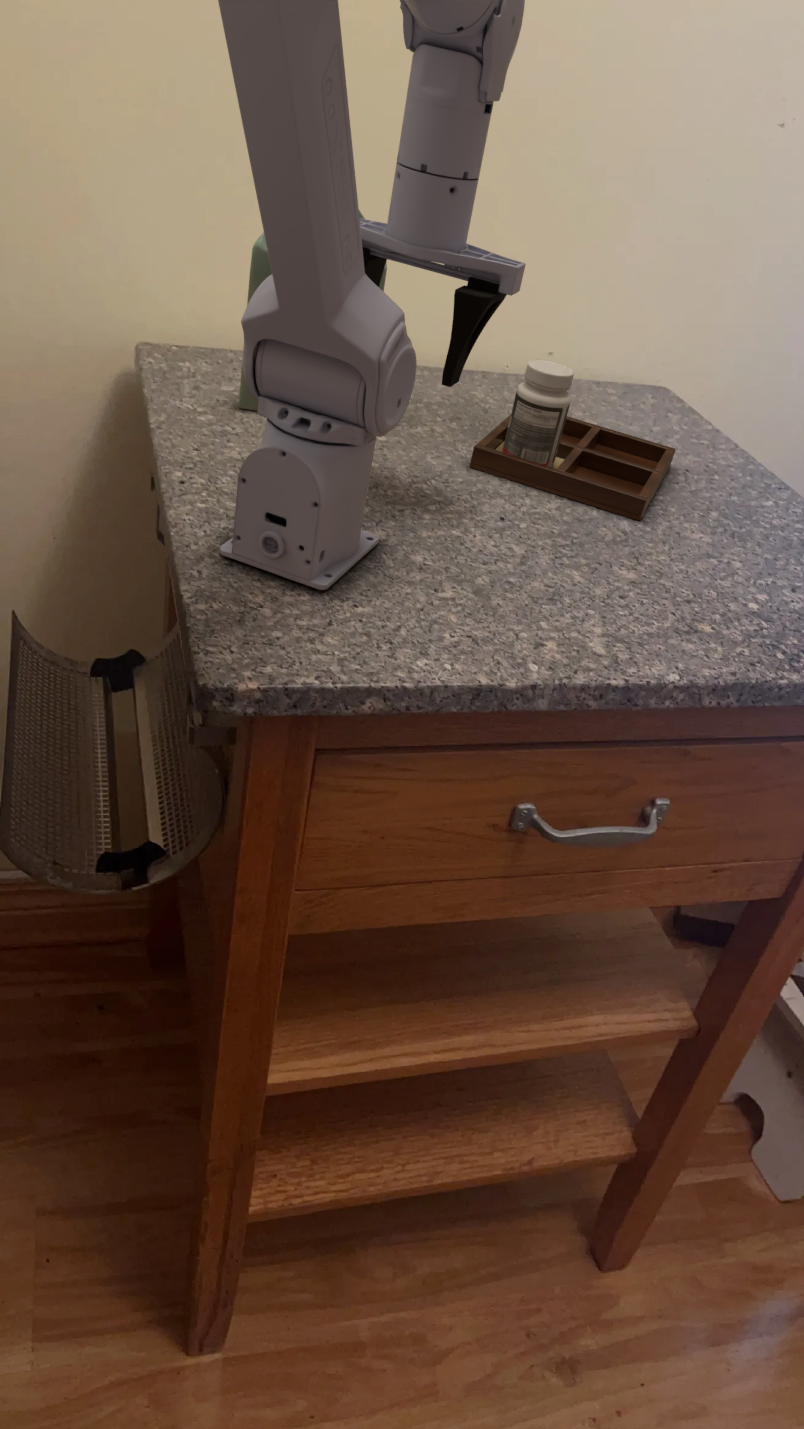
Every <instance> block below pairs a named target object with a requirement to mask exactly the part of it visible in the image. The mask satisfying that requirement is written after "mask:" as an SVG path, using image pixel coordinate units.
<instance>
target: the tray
mask: <svg viewBox="0 0 804 1429" xmlns="http://www.w3.org/2000/svg"><path fill="white" fill-rule="evenodd" d="M510 417H511V414H510V415H508V416H507V417H506V418H505V419H503V421H501V422H500V423H499V424H498V425H497V426H495V427H494V428H493V429H492V430H490V432H489V433H488V434H487V435H485V437H483V438H482V439H481V440H479V441H478V443H476V444H474V446H473V450H472V455H471V459H470V463H469V468H472V469H474V470H478V471H482V472H484V473H488V474H491V475H494V476H497V477H500V478H504V479H506V480H509V481H512V482H516V483H519V484H522V485H525V486H528V487H532V488H534V489H538V490H540V491H544V492H547V493H551V494H553V495H557V496H560V497H563V498H566V499H570V500H573V501H576V502H579V503H582V504H585V505H589V506H591V507H594V508H598V509H601V510H604V511H607V512H611V513H613V514H616V515H620V516H622V517H626V518H629V519H632V520H635V521H639V522H640V521H641V519H642V518H643V516H644V514H645V512H646V511H647V509H648V507H649V505H650V503H651V501H652V500H653V498H654V496H655V495H656V493H657V491H658V489H659V487H660V486H661V484H662V482H663V481H664V478H665V477H666V475H667V473H668V471H669V470H670V468H671V465H672V462H673V459H674V456H675V453H676V450H677V449H676V448H674V447H671V446H668V445H664V444H661V443H658V442H654V441H651V440H648V439H644V438H641V437H637V436H634V435H631V434H627V433H624V432H621V431H618V430H615V429H612V428H611V429H610V428H608V427H604V426H601V425H598V424H594V423H591V422H587V421H585V420H581V419H577V418H574V417H570V416H568V415H567V417H566V421H565V424H564V428H563V432H562V435H561V439H560V443H559V447H558V450H557V454H556V458H555V461H554V464H553V466H552V467H549V466H546V465H542V464H539V463H536V462H533V461H530V460H526V459H523V458H520V457H517V456H514V455H510V454H507V453H504V452H502V451H503V446H504V442H505V438H506V434H507V429H508V425H509V421H510Z"/></svg>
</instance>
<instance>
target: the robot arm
mask: <svg viewBox="0 0 804 1429" xmlns="http://www.w3.org/2000/svg"><path fill="white" fill-rule="evenodd" d="M217 2H218V8H219V13H220V17H221V22H222V28H223V32H224V36H225V37H224V38H225V43H226V47H227V52H228V58H229V62H230V63H229V64H230V68H231V72H232V77H233V83H234V89H235V93H236V99H237V104H238V108H239V113H240V118H241V124H242V128H243V133H244V139H245V143H246V149H247V154H248V159H249V164H250V169H251V175H252V178H253V184H254V189H255V195H256V198H257V199H256V200H257V204H258V210H259V213H260V219H261V224H262V230H263V232H264V235H265V240H266V245H267V250H268V255H269V260H270V266H271V271H272V274H271V275H270V276H269V277H267V278H266V279H265V280H264V281H263V282H262V283H261V284H260V286H259V287H258V288H257V290H256V291H255V293H254V294H253V296H252V298H251V299H250V301H249V303H248V305H247V304H246V308H245V310H244V313H243V314H242V318H241V320H240V324H241V327H242V332H243V347H244V349H242V360H241V365H242V364H243V374H244V378H245V380H246V384H247V387H248V389H249V392H250V393H251V394H252V395H253V396H254V397H255V398H257V399H259V402H258V411H257V414H258V415H259V416H262V417H264V418H266V424H265V430H264V432H263V436H262V439H261V440H260V442H259V444H258V445H257V446H256V448H255V449H254V450H252V451H251V452H250V453H249V454H248V455H247V457H245V459H244V460H243V462H242V463H241V466H240V469H239V471H238V476H237V487H236V498H235V509H234V519H233V522H234V523H233V531H232V532H233V534H232V538H230V539H229V540H227V541H226V542H224V543H223V544H222V545H220V546H219V549H218V550H219V554H220V555H221V556H223V557H226V558H229V559H231V560H235V561H237V562H240V563H243V564H246V565H248V566H251V567H254V568H256V569H260V570H262V571H265V572H268V573H270V574H273V575H276V576H279V577H281V578H285V579H287V580H290V581H293V582H296V583H298V584H302V585H305V586H307V587H311V588H313V589H316V590H318V591H327V589H329V588H330V587H331V586H332V585H334V584H335V583H336V582H337V581H338V580H339V579H340V578H341V577H342V576H344V575H345V574H346V573H347V572H348V571H349V570H351V568H352V567H353V566H355V565H356V564H357V563H358V562H359V561H360V560H361V559H362V558H363V557H365V556H366V555H367V554H368V553H369V552H370V551H372V549H374V548H375V547H376V546H377V545H378V544H379V542H380V536H379V535H377V534H376V533H373V532H370V531H367V530H364V529H362V528H363V521H364V516H365V510H366V502H367V498H368V492H369V491H368V490H369V485H370V478H371V473H372V467H373V461H374V454H375V448H376V442H377V438H382V437H384V436H386V435H387V434H389V432H391V431H392V430H394V429H395V428H396V427H397V426H398V425H399V423H400V421H401V420H402V418H404V417H403V416H404V415H405V413H406V411H407V409H408V406H409V403H410V401H411V396H412V394H413V390H414V387H415V381H416V377H417V376H416V375H417V367H418V366H417V361H418V360H417V354H416V351H415V348H414V346H413V342H412V340H411V338H410V336H409V334H408V332H407V325H406V318H405V314H406V313H405V312H404V310H403V309H402V308H401V307H400V306H399V305H398V303H396V302H395V300H393V299H392V298H391V297H390V296H389V295H388V294H387V293H385V291H384V292H383V291H382V290H381V289H380V288H379V285H380V281H381V278H382V274H383V271H384V267H385V264H386V263H387V261H388V260H390V261H392V262H397V263H401V264H404V265H407V266H411V267H414V268H418V269H422V270H425V271H430V272H432V273H436V274H439V275H443V276H446V277H450V278H454V279H458V280H461V281H464V282H467V284H466V285H461V286H460V287H458V288H455V289H454V295H453V315H452V324H451V333H450V340H449V345H448V350H447V353H446V356H445V362H444V367H443V371H442V377H441V386H444V387H448V388H452V387H453V386H455V385H456V384H458V383H459V382H460V379H461V376H462V373H463V369H464V368H465V366H466V362H467V361H468V359H469V356H470V354H471V352H472V351H473V348H474V346H475V344H476V342H477V340H478V339H479V337H480V335H481V334H482V332H483V330H484V329H485V327H486V326H487V324H488V322H490V320H491V318H492V317H493V316H494V314H495V313H496V312H497V310H498V308H499V307H500V305H502V303H503V302H504V301H505V299H506V297H507V296H513V295H516V294H517V293H519V292H520V291H521V287H522V283H523V277H524V274H525V270H526V262H523V261H519V260H515V259H512V258H509V257H507V256H503V255H501V254H497V253H494V252H492V251H489V250H486V249H483V248H480V247H478V246H475V245H473V244H471V243H467V241H468V235H469V230H470V225H471V220H472V216H473V210H474V205H475V199H476V194H477V190H478V185H479V178H480V174H481V169H482V165H483V164H482V163H483V160H484V159H483V158H484V154H485V149H486V144H487V138H488V134H489V127H490V122H491V118H492V112H493V109H494V108H493V107H494V102H499V101H500V100H501V96H502V93H503V92H504V88H505V83H506V77H507V74H508V70H509V67H510V64H511V61H512V59H513V57H514V54H515V51H516V48H517V45H518V41H519V38H520V34H521V30H522V26H523V18H524V13H525V6H526V5H525V3H526V0H399V2H400V5H399V8H400V10H401V14H402V32H403V39H404V40H403V41H404V46H405V49H406V50H409V52H411V53H413V54H412V58H411V59H412V60H411V65H410V73H409V78H408V83H407V84H408V85H407V91H406V98H405V105H404V110H403V111H404V112H403V117H402V125H401V130H400V137H399V143H398V150H397V157H396V164H395V170H394V171H395V172H394V176H393V182H392V190H391V196H390V201H389V202H390V203H389V210H388V217H387V223H386V222H382V221H377V220H371V219H366V218H365V219H361V218H359V210H360V208H359V199H358V187H357V181H356V169H355V160H354V158H355V157H354V148H353V138H352V129H351V118H350V108H349V100H348V99H349V98H348V97H349V96H348V88H347V78H346V68H345V56H344V48H343V36H342V27H341V17H340V7H339V6H340V5H339V0H217Z"/></svg>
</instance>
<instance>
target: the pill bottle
mask: <svg viewBox="0 0 804 1429" xmlns="http://www.w3.org/2000/svg"><path fill="white" fill-rule="evenodd" d="M524 372H525V373H524V377H523V379H524V381H523V382H521V383H520V384H518V386H517V388H516V391H515V395H514V400H513V405H512V409H511V413H510V415H511V417H510V421H509V425H508V429H507V434H506V438H505V442H504V446H503V451H502V452H504V453H507V454H510V455H514V456H517V457H520V458H523V459H526V460H530V461H533V462H536V463H539V464H542V465H546V466H549V467H552V466H553V464H554V461H555V458H556V454H557V450H558V447H559V443H560V439H561V435H562V432H563V428H564V424H565V421H566V417H567V416H568V413H569V410H570V406H571V401H572V399H571V398H572V397H571V395H570V393H569V392H568V391H569V390H570V389H571V387H572V385H573V379H574V375H575V372H574V370H573V369H572V368H570V367H569V366H566V365H564V364H561V363H558V362H555V361H551V360H544V359H531V360H528V362H527V365H526V368H525V371H524Z"/></svg>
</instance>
